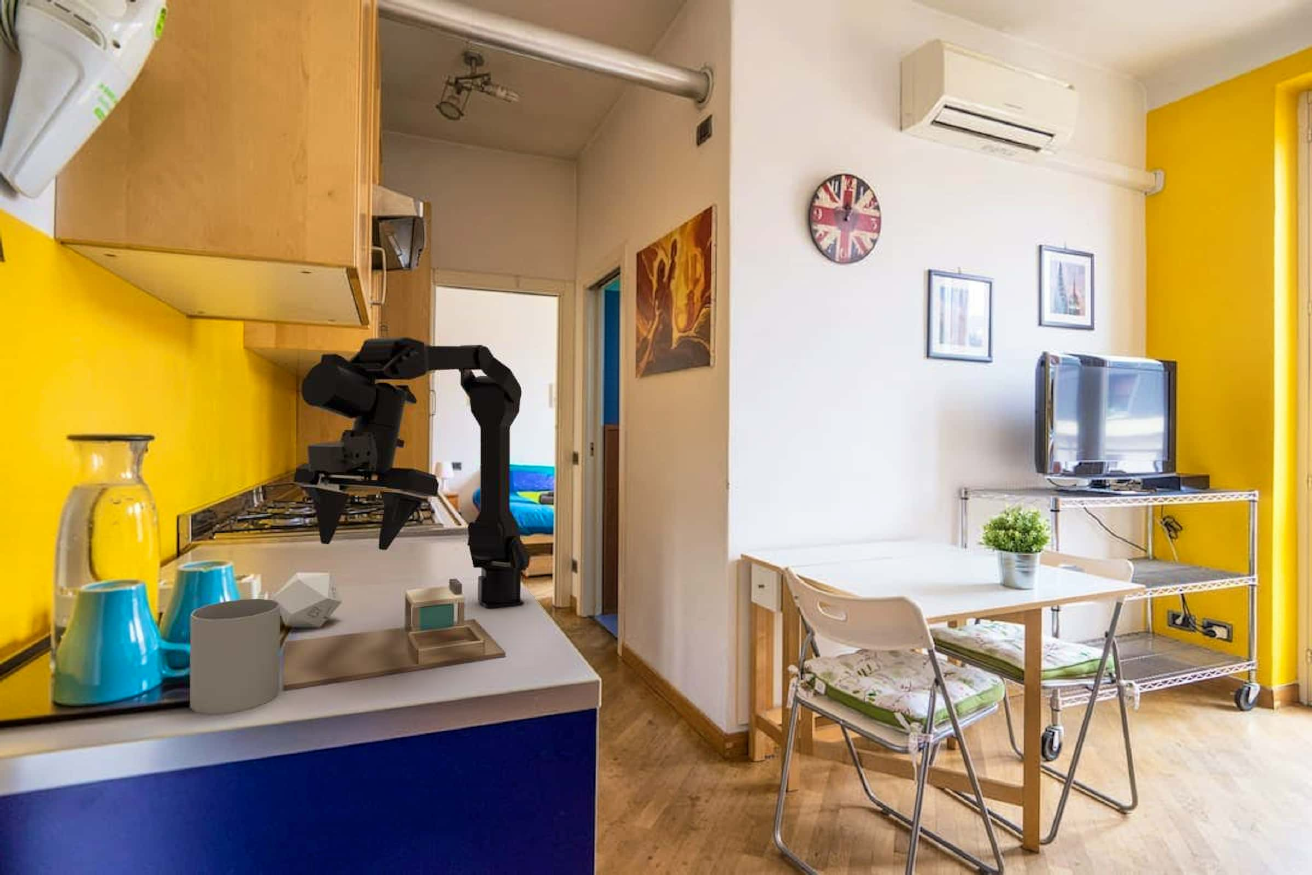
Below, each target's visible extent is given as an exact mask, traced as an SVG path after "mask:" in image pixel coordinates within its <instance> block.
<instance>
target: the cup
mask: <svg viewBox="0 0 1312 875" xmlns="http://www.w3.org/2000/svg"><path fill="white" fill-rule="evenodd" d="M280 627H281V615H280V603H279V602H277V601H274V599H267V598H249V599H248V598H243V599H236V600H228V601H226V600H225V601H221V602H216V603H213V604H207V605H205V606H202V607H199V608H197V609H194V610H193V611H192V612H191V614H190V626H189V628H190V630H189V632H190V634H189V635H190V638H189V639H190V640H189V641H190V642H189V644H190V649H189V651H190V657H189V658H190V659H189V660H190V661H189V667H190V668H189V685H190V686H189V708H190V710H193V712H195V713H196V714H205V715H221V714H232V713H236V712H241V711H245V710H250V709H254V708H255V707H259V706H261V705H264V704H266V703H269V702H270V701H272V700H273V699H274V698H275V697H278V695H279V693H280V668H281V667H280V661H281V660H280V659H281V658H280V654H281V653H280V651H281V649H280V648H281V647H280V646H281V645H280V643H281V637H280V636H281V635H280V634H281V633H280V632H281V628H280Z"/></svg>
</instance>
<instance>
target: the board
mask: <svg viewBox="0 0 1312 875" xmlns="http://www.w3.org/2000/svg"><path fill="white" fill-rule="evenodd" d="M283 654H284V656H283V682H282V687H283V688H282V691H283V692H284V691H289V690H296V689H303V688H308V687H309V688H310V687H316V686H322V685H328V684H329V685H330V684H335V683H341V682H342V683H343V682H348V681H355V680H361V679H367V678H368V679H369V678H374V677H375V678H376V677H381V676H388V675H394V674H401V673H406V672H407V673H408V672H412V671H413V672H414V671H418V670H419V671H420V670H426V669H432V668H440V667H445V666H446V667H447V666H452V665H460V664H466V663H472V662H478V661H479V662H481V661H484V660H485V661H486V660H492V659H497V658H499V659H500V658H505V657H506V651H505V650H504V649H503V647H501V645H499V644H498V642H497V641H496V640H495V639H494V638H493V637H492V636H491V635H490V634H489V633H488V632H487V631H486V630H485V628H484V627H482V625H480V623H479V622H478V621H477V620H476V619H475V618H469V619H464V626H457V620H454V624H453V627H449V628H441V629H434V630H426V631H418V632H412V625H411V629H410V630H405V626H404V627H398V628H397V627H396V628H395V627H394V628H388V629H379V630H373V631H372V630H371V631H362V632H357V633H356V632H355V633H347V634H339V635H331V636H323V637H322V636H321V637H314V638H306V639H296V640H290V641H284V653H283Z"/></svg>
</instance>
